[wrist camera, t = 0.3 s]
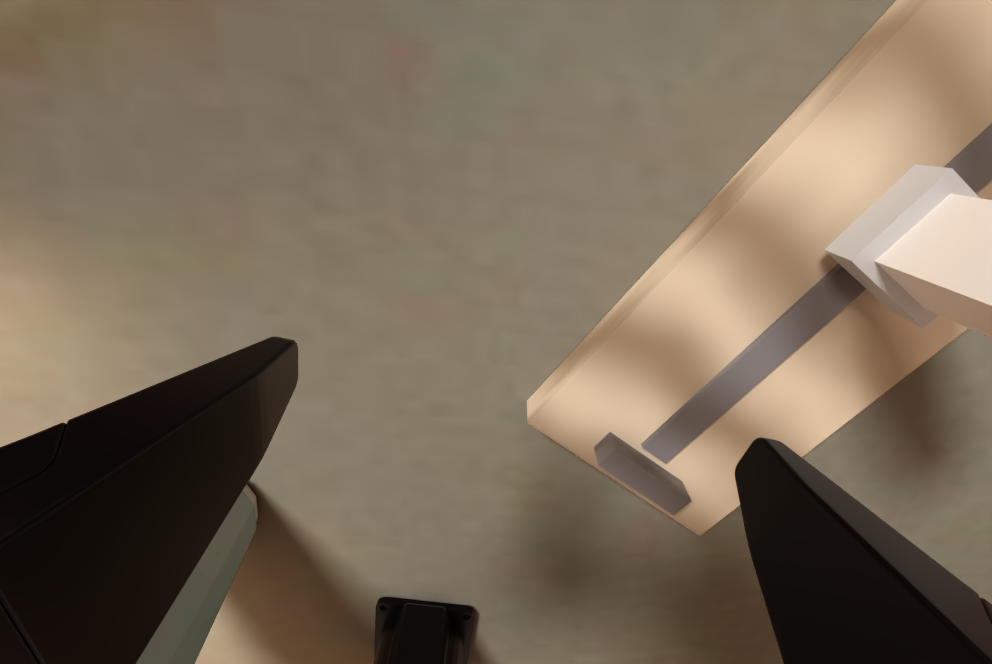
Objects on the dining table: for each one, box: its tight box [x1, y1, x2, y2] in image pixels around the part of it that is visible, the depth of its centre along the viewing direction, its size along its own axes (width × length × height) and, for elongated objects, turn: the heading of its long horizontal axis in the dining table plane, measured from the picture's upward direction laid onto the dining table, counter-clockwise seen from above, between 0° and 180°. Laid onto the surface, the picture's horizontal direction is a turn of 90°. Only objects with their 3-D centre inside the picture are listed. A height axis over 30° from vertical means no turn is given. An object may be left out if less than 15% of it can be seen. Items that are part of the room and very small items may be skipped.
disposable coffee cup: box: [136, 484, 258, 664], centre depth 22 cm, size 11×11×15 cm
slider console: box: [527, 0, 992, 536], centre depth 21 cm, size 24×12×3 cm, turn 143°
